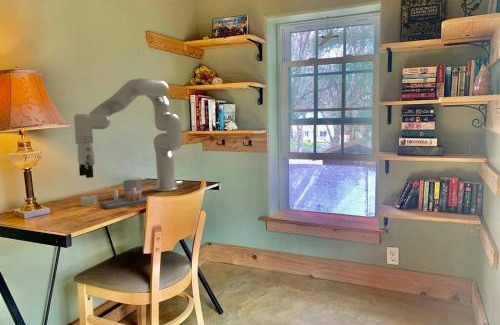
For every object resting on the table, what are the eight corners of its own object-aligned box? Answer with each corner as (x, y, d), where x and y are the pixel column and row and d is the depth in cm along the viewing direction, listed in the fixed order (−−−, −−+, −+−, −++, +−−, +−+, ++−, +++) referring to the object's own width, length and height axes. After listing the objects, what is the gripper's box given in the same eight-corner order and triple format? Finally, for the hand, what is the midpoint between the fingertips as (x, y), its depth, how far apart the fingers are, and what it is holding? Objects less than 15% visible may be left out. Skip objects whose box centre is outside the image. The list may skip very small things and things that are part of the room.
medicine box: (142, 196, 196) (141, 180, 195) (137, 198, 192) (136, 181, 191) (129, 195, 199) (128, 179, 198) (124, 197, 195) (123, 181, 193)
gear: (94, 201, 186) (94, 194, 186) (99, 204, 181) (99, 197, 180) (79, 204, 182) (78, 197, 181) (83, 206, 176) (83, 199, 176)
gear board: (140, 198, 191) (139, 185, 190) (150, 202, 183) (149, 187, 182) (100, 205, 178) (99, 190, 177) (108, 209, 170) (107, 194, 169)
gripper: (98, 140, 173) (100, 177, 175) (86, 139, 186) (88, 173, 188) (81, 141, 168) (83, 179, 170) (70, 140, 182) (72, 175, 183)
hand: (86, 176), depth 179 cm, fingers open, 9 cm apart
